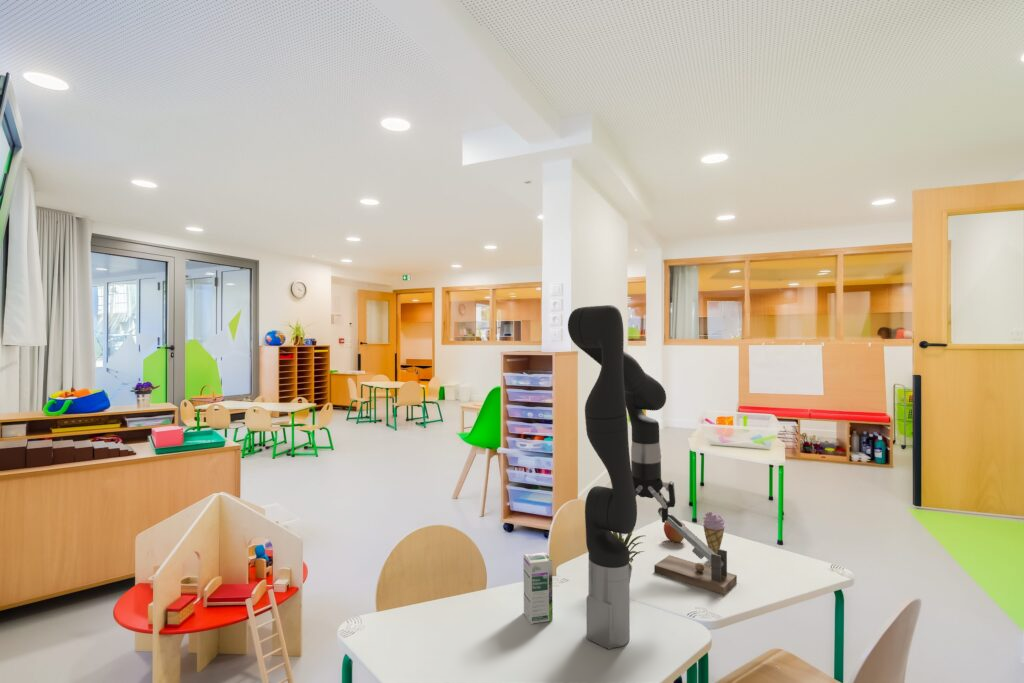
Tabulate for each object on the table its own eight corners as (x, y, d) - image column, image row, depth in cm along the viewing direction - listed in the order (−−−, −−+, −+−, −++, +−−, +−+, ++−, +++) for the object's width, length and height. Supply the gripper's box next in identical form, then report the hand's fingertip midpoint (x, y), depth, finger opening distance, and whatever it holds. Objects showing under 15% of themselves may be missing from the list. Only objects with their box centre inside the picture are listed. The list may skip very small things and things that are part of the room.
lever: (715, 573, 134) (722, 564, 133) (653, 515, 148) (658, 506, 146) (719, 569, 136) (726, 561, 135) (657, 512, 150) (663, 504, 149)
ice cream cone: (697, 556, 155) (697, 508, 155) (712, 552, 157) (711, 506, 158) (714, 564, 149) (714, 515, 149) (729, 560, 151) (728, 512, 152)
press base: (723, 594, 129) (723, 560, 130) (654, 571, 143) (654, 541, 143) (736, 582, 137) (736, 550, 137) (669, 561, 150) (669, 532, 151)
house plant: (661, 595, 129) (661, 533, 129) (620, 607, 123) (620, 542, 123) (625, 573, 142) (625, 517, 142) (587, 583, 135) (587, 524, 136)
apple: (690, 544, 164) (690, 521, 164) (670, 546, 162) (670, 522, 163) (678, 536, 171) (678, 514, 171) (659, 538, 170) (659, 515, 170)
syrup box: (530, 625, 114) (530, 562, 115) (522, 612, 120) (523, 553, 120) (552, 621, 116) (553, 560, 116) (544, 609, 121) (544, 550, 122)
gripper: (616, 459, 127) (617, 521, 127) (672, 464, 121) (674, 528, 121) (621, 452, 133) (622, 511, 134) (675, 457, 128) (676, 517, 128)
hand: (647, 519), depth 127 cm, fingers open, 8 cm apart
